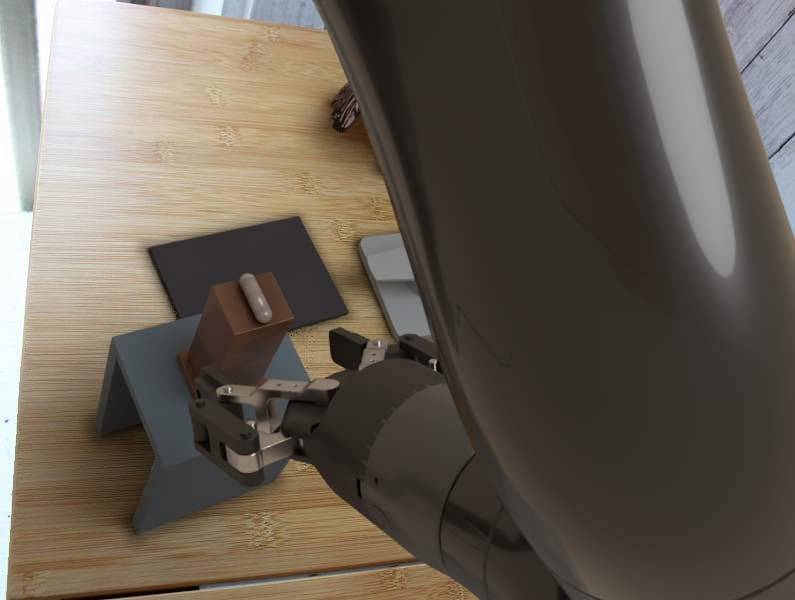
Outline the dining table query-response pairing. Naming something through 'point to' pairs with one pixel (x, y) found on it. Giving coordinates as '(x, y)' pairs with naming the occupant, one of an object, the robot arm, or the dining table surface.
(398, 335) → the shower valve
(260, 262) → the mat
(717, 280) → the robot arm
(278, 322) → the coat peg
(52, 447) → the dining table surface
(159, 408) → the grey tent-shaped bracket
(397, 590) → the dining table surface
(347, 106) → the decorative flower
